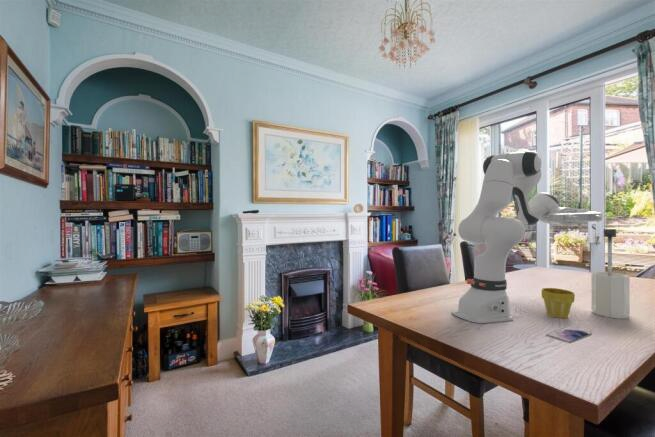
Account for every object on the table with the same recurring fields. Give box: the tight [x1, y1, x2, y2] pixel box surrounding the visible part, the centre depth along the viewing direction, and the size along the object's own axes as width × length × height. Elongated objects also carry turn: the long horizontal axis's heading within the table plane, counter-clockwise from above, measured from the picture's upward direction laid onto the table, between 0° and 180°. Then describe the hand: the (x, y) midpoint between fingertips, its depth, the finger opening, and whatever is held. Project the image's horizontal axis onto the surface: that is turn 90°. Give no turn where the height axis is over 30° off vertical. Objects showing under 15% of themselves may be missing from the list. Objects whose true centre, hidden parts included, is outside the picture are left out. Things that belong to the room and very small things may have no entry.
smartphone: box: [545, 326, 593, 344], centre depth 98 cm, size 7×1×15 cm
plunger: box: [603, 228, 617, 276], centre depth 118 cm, size 8×8×22 cm
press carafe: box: [590, 271, 631, 320], centre depth 119 cm, size 13×10×16 cm
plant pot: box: [541, 287, 575, 319], centre depth 117 cm, size 10×10×10 cm
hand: (587, 218), depth 129 cm, fingers open, 8 cm apart
